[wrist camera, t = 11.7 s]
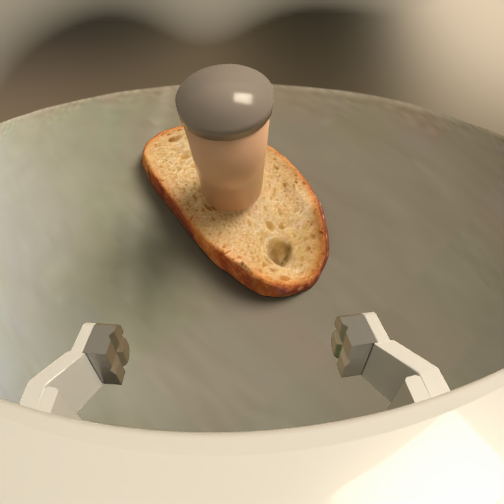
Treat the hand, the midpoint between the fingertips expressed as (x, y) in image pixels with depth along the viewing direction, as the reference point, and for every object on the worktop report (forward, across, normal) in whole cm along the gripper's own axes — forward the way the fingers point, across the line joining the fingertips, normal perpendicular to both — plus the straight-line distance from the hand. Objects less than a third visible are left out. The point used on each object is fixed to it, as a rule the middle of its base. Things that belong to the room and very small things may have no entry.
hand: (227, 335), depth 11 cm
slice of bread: (+19, 0, +2) cm, 19 cm away
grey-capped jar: (+17, 0, 0) cm, 17 cm away
